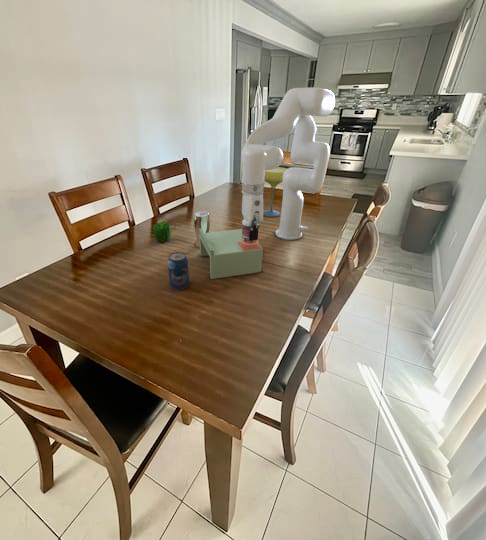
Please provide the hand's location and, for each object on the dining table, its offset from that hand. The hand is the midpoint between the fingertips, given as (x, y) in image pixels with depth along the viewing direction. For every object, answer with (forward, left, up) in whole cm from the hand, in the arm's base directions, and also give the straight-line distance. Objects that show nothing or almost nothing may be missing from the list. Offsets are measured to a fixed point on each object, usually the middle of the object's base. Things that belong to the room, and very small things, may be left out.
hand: (250, 235), depth 109 cm
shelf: (+6, -6, -14) cm, 16 cm away
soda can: (+28, +5, -14) cm, 32 cm away
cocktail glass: (-34, -55, -14) cm, 66 cm away
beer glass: (+13, -25, -14) cm, 32 cm away
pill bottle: (0, 0, -3) cm, 3 cm away
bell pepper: (+30, -35, -14) cm, 48 cm away
